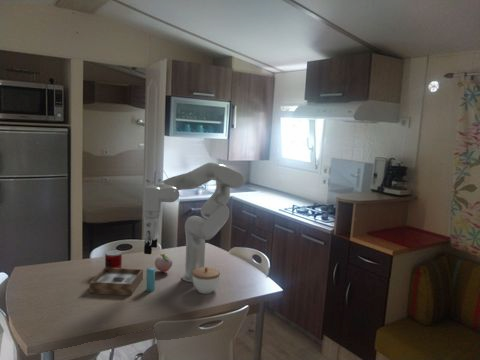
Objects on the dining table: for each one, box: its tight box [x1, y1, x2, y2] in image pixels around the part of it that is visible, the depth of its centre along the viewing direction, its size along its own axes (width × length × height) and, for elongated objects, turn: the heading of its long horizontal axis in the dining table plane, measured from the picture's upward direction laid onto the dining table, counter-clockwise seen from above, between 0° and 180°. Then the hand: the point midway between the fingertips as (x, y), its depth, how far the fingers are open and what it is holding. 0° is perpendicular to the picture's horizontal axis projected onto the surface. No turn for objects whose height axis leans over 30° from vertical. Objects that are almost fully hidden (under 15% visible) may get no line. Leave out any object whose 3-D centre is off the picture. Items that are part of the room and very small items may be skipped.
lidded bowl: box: [192, 266, 220, 295], centre depth 180 cm, size 13×13×11 cm
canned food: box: [104, 249, 123, 268], centre depth 195 cm, size 8×8×11 cm
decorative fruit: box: [154, 253, 173, 273], centre depth 200 cm, size 9×8×10 cm
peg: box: [146, 267, 156, 292], centre depth 178 cm, size 4×4×10 cm
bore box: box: [89, 266, 144, 296], centre depth 181 cm, size 19×19×5 cm
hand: (150, 250), depth 176 cm, fingers open, 9 cm apart
